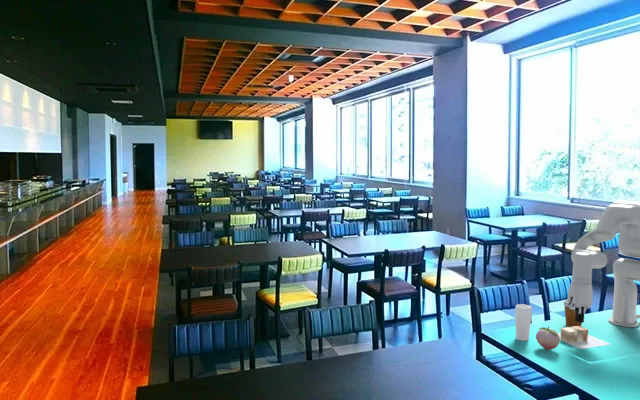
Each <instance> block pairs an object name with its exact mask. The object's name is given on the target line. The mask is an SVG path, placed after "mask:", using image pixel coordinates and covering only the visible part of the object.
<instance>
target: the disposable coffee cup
mask: <svg viewBox="0 0 640 400" xmlns="http://www.w3.org/2000/svg"><path fill="white" fill-rule="evenodd" d="M567 300H568V298H567V299H565V300H564V301H563V306H564V315H565V318H564V319H565V325H566V326H567V327H574V326H580V327H582V324H583V323H579V322H577V321H575V314H576V312H574V310H572V309H570V305H568V304H567Z"/></svg>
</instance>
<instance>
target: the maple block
mask: <svg viewBox="0 0 640 400" xmlns="http://www.w3.org/2000/svg"><path fill="white" fill-rule="evenodd" d="M560 333H561V340H560V341H562V340H563V341H562V342H564V341H565V342H564V343H566V342H567V343H566V344H568V343H575V342H582V341H587V340H588V335H589V328H585V327H582V326H581V327H580V326H574V327H569V326H567V327H561V328H560Z"/></svg>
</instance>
